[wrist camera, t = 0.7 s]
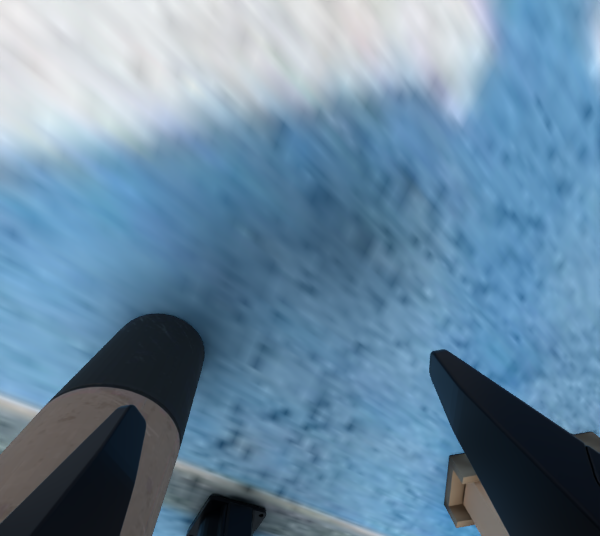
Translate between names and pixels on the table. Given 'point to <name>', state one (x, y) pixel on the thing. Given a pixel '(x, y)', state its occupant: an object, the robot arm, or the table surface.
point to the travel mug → (104, 401)
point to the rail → (464, 473)
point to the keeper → (483, 511)
